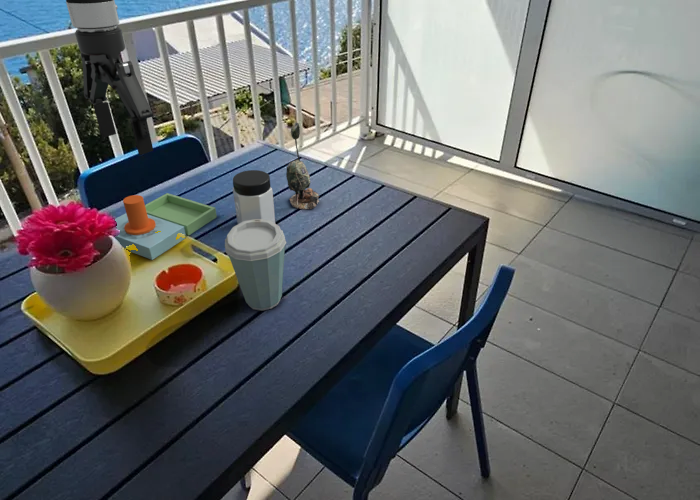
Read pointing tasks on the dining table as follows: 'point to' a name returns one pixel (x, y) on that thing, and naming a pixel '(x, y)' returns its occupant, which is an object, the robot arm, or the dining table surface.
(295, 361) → the dining table surface
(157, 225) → the plate
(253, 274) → the disposable coffee cup
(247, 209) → the jar
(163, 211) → the tray
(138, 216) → the plug
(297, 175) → the plant with pod
